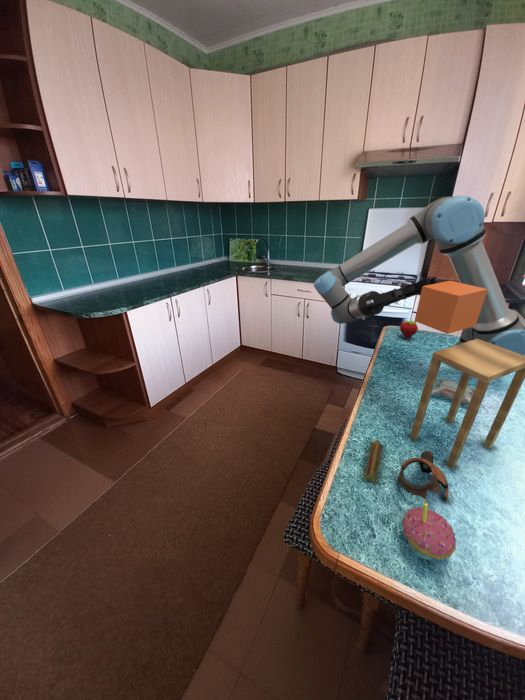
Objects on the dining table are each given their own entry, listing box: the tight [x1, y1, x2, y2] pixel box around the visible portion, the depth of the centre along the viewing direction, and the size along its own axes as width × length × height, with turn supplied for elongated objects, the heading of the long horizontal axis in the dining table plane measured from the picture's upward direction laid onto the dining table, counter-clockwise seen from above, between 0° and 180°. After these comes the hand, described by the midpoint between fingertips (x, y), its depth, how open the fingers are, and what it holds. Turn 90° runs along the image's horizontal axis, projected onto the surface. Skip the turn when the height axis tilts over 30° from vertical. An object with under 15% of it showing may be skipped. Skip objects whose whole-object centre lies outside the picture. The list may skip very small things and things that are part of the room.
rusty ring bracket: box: [398, 450, 450, 502], centre depth 64 cm, size 12×10×8 cm
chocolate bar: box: [363, 439, 383, 484], centre depth 71 cm, size 3×12×2 cm, turn 154°
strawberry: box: [399, 320, 419, 340], centre depth 131 cm, size 6×8×10 cm
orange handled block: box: [399, 280, 488, 335], centre depth 73 cm, size 10×19×9 cm, turn 25°
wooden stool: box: [409, 339, 525, 470], centre depth 71 cm, size 16×12×26 cm
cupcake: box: [401, 499, 457, 561], centre depth 51 cm, size 9×8×12 cm
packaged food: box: [432, 378, 475, 406], centre depth 92 cm, size 9×12×5 cm
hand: (432, 283), depth 72 cm, fingers closed on orange handled block, 2 cm apart
